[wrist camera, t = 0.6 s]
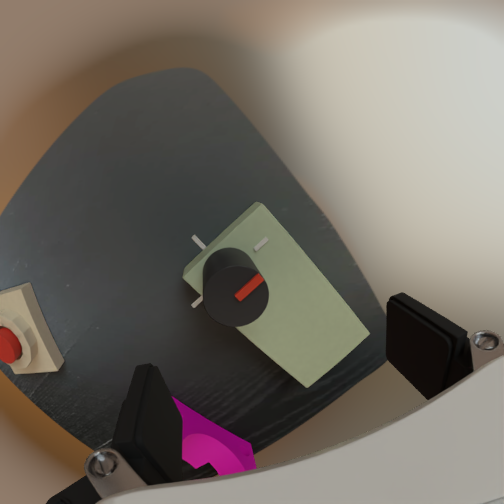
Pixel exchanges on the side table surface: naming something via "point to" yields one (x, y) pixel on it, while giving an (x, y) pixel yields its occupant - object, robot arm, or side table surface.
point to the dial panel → (287, 298)
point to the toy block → (213, 444)
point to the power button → (9, 346)
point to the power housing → (29, 331)
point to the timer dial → (233, 288)
